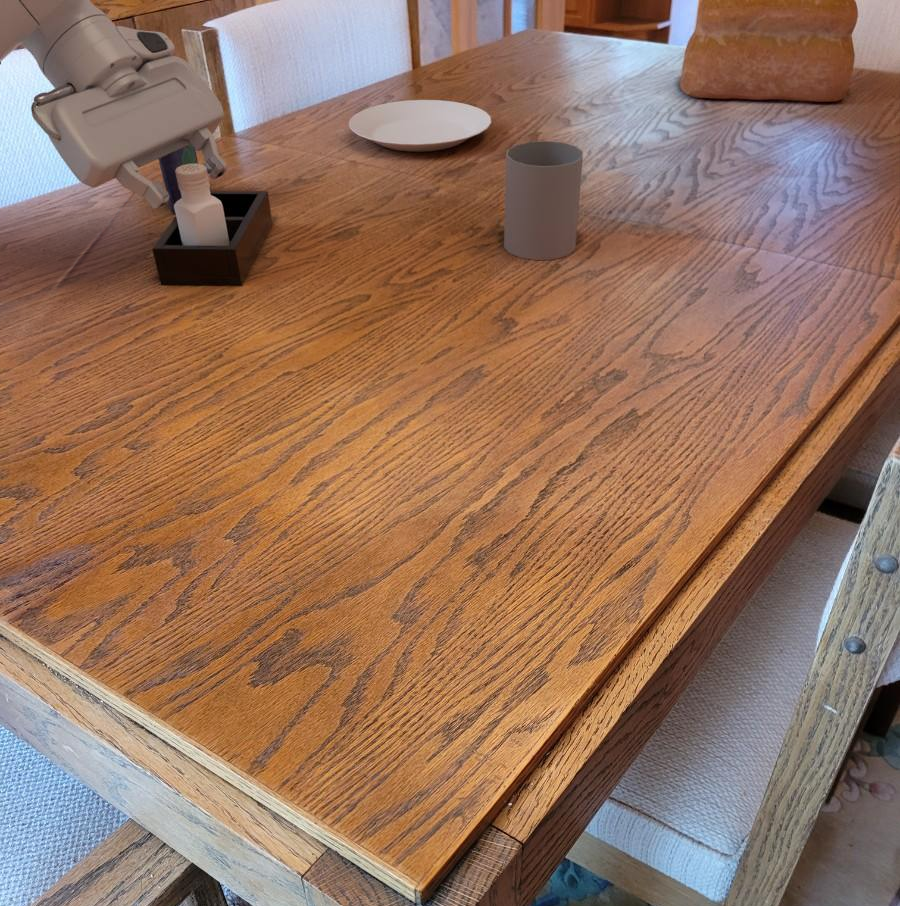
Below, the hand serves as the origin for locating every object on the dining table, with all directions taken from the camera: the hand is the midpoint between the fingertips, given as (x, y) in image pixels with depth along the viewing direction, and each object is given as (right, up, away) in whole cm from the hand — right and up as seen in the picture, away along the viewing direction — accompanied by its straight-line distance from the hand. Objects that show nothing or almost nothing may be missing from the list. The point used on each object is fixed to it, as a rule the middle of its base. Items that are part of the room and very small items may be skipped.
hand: (193, 188), depth 96 cm
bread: (+78, +39, +52) cm, 102 cm away
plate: (+23, +25, +38) cm, 51 cm away
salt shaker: (+1, -6, +5) cm, 7 cm away
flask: (-6, +7, +20) cm, 23 cm away
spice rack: (+1, -4, +8) cm, 9 cm away
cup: (+38, -3, +9) cm, 39 cm away
